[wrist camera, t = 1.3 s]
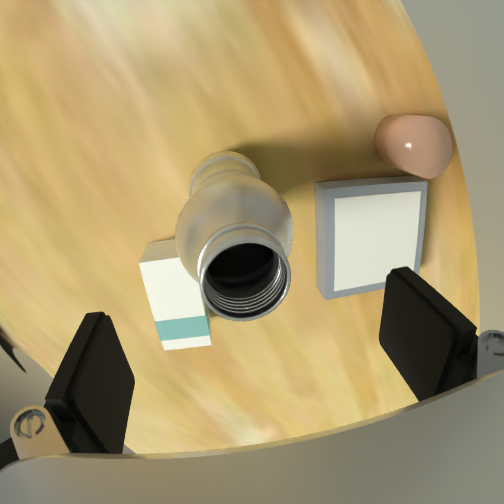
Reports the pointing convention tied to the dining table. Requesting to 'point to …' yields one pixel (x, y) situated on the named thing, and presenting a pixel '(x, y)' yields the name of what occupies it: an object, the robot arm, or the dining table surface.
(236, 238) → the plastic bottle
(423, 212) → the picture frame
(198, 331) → the lying carton
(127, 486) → the robot arm
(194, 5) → the dining table surface
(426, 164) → the pink smooth rounded part
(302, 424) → the dining table surface
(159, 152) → the dining table surface
